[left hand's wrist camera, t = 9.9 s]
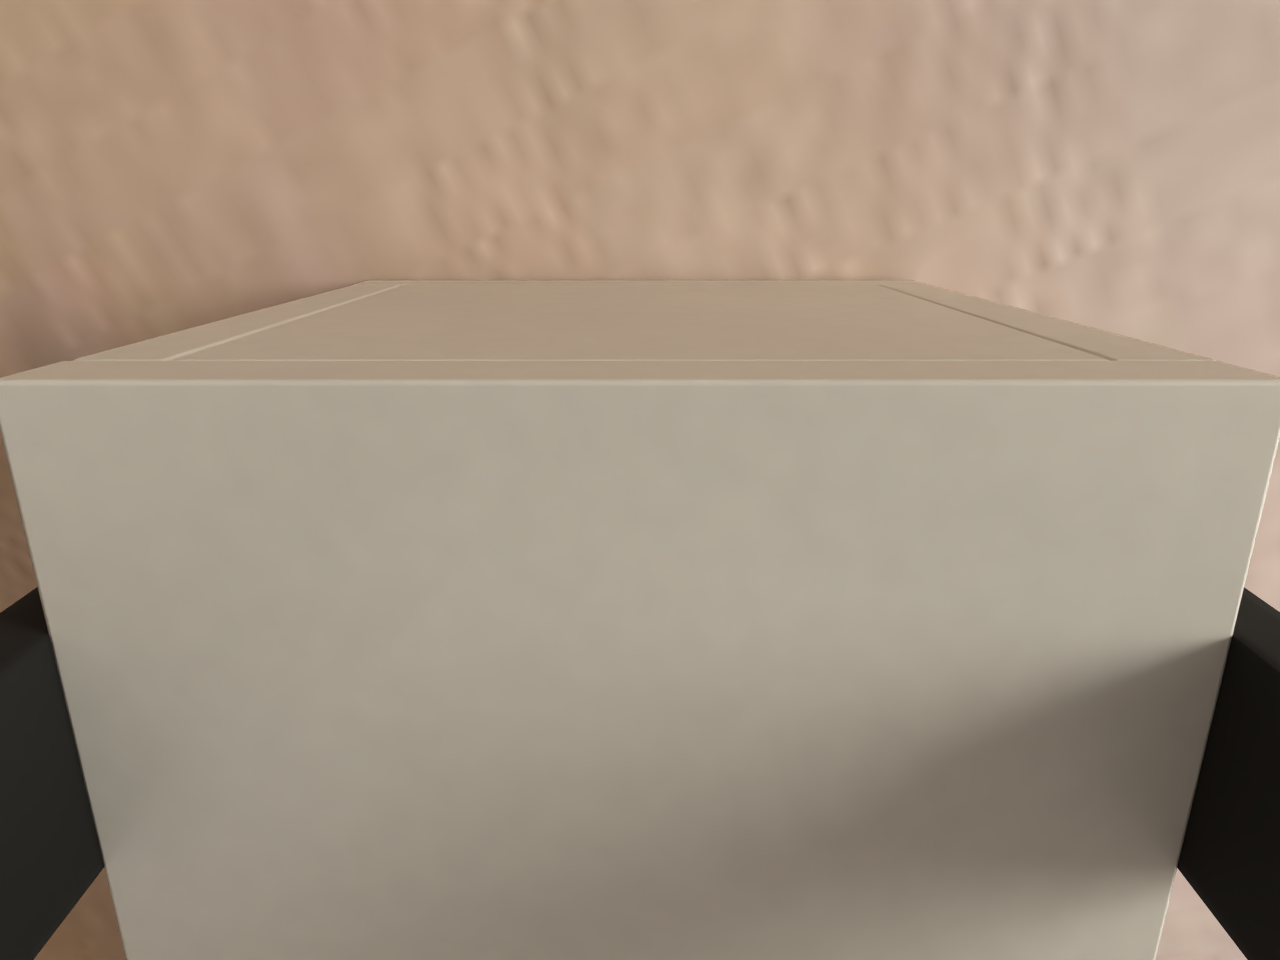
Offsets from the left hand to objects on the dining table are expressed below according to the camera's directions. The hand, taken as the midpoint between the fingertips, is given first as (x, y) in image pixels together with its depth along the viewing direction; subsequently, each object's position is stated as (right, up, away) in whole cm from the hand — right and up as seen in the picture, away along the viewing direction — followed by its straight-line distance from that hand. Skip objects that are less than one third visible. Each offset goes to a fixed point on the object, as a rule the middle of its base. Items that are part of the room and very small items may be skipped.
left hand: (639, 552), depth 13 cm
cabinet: (0, -4, +7) cm, 8 cm away
